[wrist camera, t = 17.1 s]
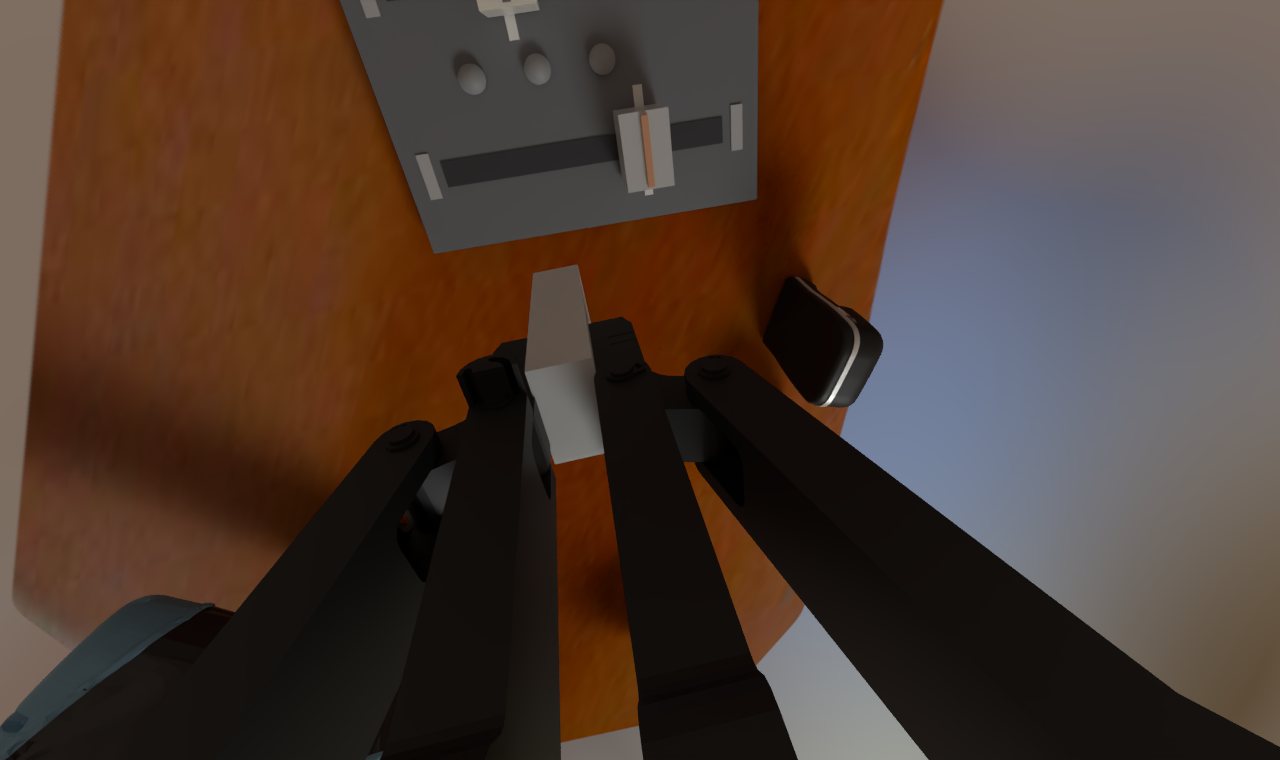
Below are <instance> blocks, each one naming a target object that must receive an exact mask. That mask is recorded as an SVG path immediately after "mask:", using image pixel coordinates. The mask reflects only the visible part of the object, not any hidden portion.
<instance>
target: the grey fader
mask: <svg viewBox="0 0 1280 760" xmlns="http://www.w3.org/2000/svg"><path fill="white" fill-rule="evenodd" d="M613 118H614V125H615V132H616V139H617V146H618V154H619V161H620V168H621V175H622V182H623V184H624V186H625V188H626V189H627V191H628V193H632V192H638V191H644V190H650V189H656V188H662V187H668V186H674V185H675V182H674V170H673V158H672V146H671V134H670V122H669V110H668V107H667V106H664V105H661V104H651V105H645V106H639V107H632V108H626V109H620V110H613Z"/></svg>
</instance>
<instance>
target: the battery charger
mask: <svg viewBox="0 0 1280 760" xmlns="http://www.w3.org/2000/svg"><path fill="white" fill-rule="evenodd" d="M763 343H764V344H765V345H766V346H767V348H768V349H769V350H770V352H771V353H772V354H773V356H774V357H775V358H776V360H777V362H778V363H779V365H780V366H781V368H782V369H783V371H784V372H785V374H786V375H787V377H788V378H789V380H790V381H791V383H792V384H793V385H794V387H795V388H796V389H797V390H798V392H799V393H800V394H801V395H802V397H803V398H804V399H805V400H806V401H807V402H808V403H811V404H813V405H815V406H820V407H825V406H830V407H848V406H850V405H851V404H853V403H854V402H855V400H856V399H857V398H858V396H859V394H860V392H861V390H862V389H863V387H864V385H865V384H866V382H867V380H868V378H869V377H870V375H871V373H872V371H873V369H874V367H875V365H876V363H877V361H878V359H879V357H880V355H881V353H882V349H883V340H882V337H881V335H880V333H879V332H878V331H877V330H876V329H875V328H874V327H873V326H872V325H871V324H870V323H869V322H868V321H867V320H865V319H864V318H863V317H862V316H861V315H859V314H858V313H857V312H856V311H854V310H853V309H851V308H848V307H843V306H838V305H837V304H836V303H834V302H833V301H832V300H830V299H829V298H827V297H826V296H824V295H823V294H821V293H820V292H819V291H818V290H817V288H816V286H815V285H814V284H813V283H812V282H810V281H807V280H805V279H801V278H799V277H788V278H787V280H786V282H785V284H784V287H783V289H782V291H781V294H780V296H779V299H778V301H777V304H776V306H775V309H774V311H773V314H772V316H771V319H770V322H769V324H768V327H767V330H766V332H765V335H764V338H763Z"/></svg>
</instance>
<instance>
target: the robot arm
mask: <svg viewBox="0 0 1280 760" xmlns="http://www.w3.org/2000/svg"><path fill="white" fill-rule="evenodd" d="M456 377H457V379H458V382H459V384H460V386H461V389H462V391H463V394H464V396H465V398H466V401H467V403H468V405H469V409H468V413H467V417H466V420H464V421H462V422H460V423H458V424H456V425H454V426H452V427H449V428H447V429H444V430H442V431H439V432H436V430H435V428H434V426H433V424H431V423H430V422H428V421H419V420H417V421H411V422H405V423H402V424H400V425H397V426H395V427H393V428H391V429H390V430H389V431H387V432H385V433H384V434H382V435H381V436H380V437H379V438H378V439H377V440H376V441H375V442H374V443H373V444H372V445H371V447H370V448H369V449H368V450H367V452H366V453H365V454H364V455H363V456H362V458H361V459H360V460H359V461H358V463H357V464H356V465H355V466H354V467H353V469H352V470H351V471H350V472H349V474H348V475H347V476H346V477H345V479H344V480H343V481H342V482H341V483H340V485H339V486H338V487H337V488H336V490H335V491H334V492H333V493H332V494H331V496H330V497H329V498H328V499H327V501H326V502H325V503H324V504H323V506H322V507H321V508H320V509H319V510H318V512H317V513H316V514H315V515H314V517H313V518H312V519H311V520H310V521H309V523H308V524H307V525H306V526H305V528H304V529H303V530H302V531H301V532H300V534H299V535H298V536H297V537H296V539H295V540H294V541H293V542H292V544H291V545H290V546H289V547H288V548H287V550H286V551H285V552H284V553H283V555H282V556H281V557H280V558H279V559H278V561H277V562H276V563H275V564H274V566H273V567H272V568H271V569H270V570H269V572H268V573H267V574H266V575H265V577H264V578H263V579H262V580H261V582H260V583H259V584H258V585H257V586H256V588H255V589H254V590H253V591H252V593H251V594H250V595H249V596H248V597H247V599H246V600H245V601H244V602H243V604H242V605H241V606H240V607H239V609H238V610H237V611H236V612H232V611H229V610H225V609H222V608H219V607H215V604H213V603H203V604H201V603H196V602H192V601H188V600H183V599H179V598H175V597H170V596H166V595H150V596H145V597H142V598H139V599H136V600H134V601H132V602H130V603H128V604H127V605H125V606H124V607H122V608H121V609H119V610H118V611H117V612H115V613H114V614H113V615H111V616H110V617H109V618H108V619H107V620H106V621H104V622H103V623H102V624H101V625H100V626H99V627H98V628H96V629H95V630H94V631H93V632H92V633H91V634H90V635H89V636H88V637H87V638H86V639H84V640H83V641H82V642H81V643H80V644H79V645H78V646H77V647H76V648H75V649H74V650H73V651H72V652H71V653H70V654H69V655H68V656H67V657H66V658H65V659H64V660H63V661H62V662H60V664H58V666H57V667H55V668H54V669H53V670H52V671H51V672H50V673H49V674H48V675H47V676H46V677H45V679H43V681H41V682H40V684H39V685H38V686H37V687H36V688H35V689H34V690H33V691H32V692H31V693H30V694H29V695H28V696H27V697H26V698H25V699H24V700H23V701H22V702H21V703H20V704H19V706H18V707H17V709H16V711H15V713H13V714H12V715H10V716H9V717H8V718H7V719H6V720H5V721H4V723H3V724H2V725H1V726H0V760H561V746H560V745H561V744H560V690H559V636H558V582H557V528H556V478H555V475H554V472H553V469H552V466H551V463H550V451H551V454H552V457H553V460H554V463H555V464H559V463H563V462H568V461H572V460H577V459H581V458H586V457H590V456H595V455H599V454H604V455H605V462H606V468H607V475H608V482H609V489H610V496H611V503H612V510H613V517H614V524H615V531H616V538H617V545H618V552H619V559H620V566H621V573H622V580H623V587H624V594H625V601H626V608H627V614H628V621H629V628H630V635H631V642H632V649H633V656H634V663H635V670H636V677H637V684H638V693H639V702H638V720H639V729H640V737H641V745H642V753H643V760H798V759H797V756H796V753H795V751H794V748H793V745H792V742H791V740H790V737H789V734H788V731H787V729H786V726H785V724H784V721H783V718H782V715H781V713H780V710H779V707H778V705H777V702H776V700H775V697H774V695H773V692H772V690H771V687H770V685H769V683H768V682H767V680H766V678H765V676H764V675H763V674H762V673H761V672H760V671H759V670H758V669H757V667H756V666H755V664H754V661H753V659H752V656H751V653H750V651H749V648H748V645H747V642H746V639H745V636H744V634H743V631H742V628H741V625H740V622H739V619H738V616H737V614H736V611H735V608H734V605H733V602H732V599H731V597H730V594H729V591H728V588H727V585H726V582H725V579H724V577H723V574H722V571H721V568H720V565H719V562H718V559H717V557H716V554H715V551H714V548H713V545H712V542H711V540H710V537H709V534H708V531H707V528H706V525H705V522H704V520H703V517H702V514H701V511H700V508H699V505H698V502H697V500H696V497H695V494H694V491H693V488H692V485H691V482H690V480H689V477H688V474H687V471H686V468H685V465H684V463H683V462H695V465H696V467H697V469H698V471H699V472H700V473H701V475H702V476H703V477H704V478H705V480H706V481H707V482H708V484H709V485H710V486H711V487H712V489H713V490H714V491H715V492H716V494H717V495H718V496H719V497H720V499H721V500H722V501H723V502H724V504H725V505H726V506H727V507H728V509H729V510H730V511H731V512H732V514H733V515H734V516H735V517H736V519H737V520H738V521H739V522H740V524H741V525H742V526H743V527H744V529H745V530H746V531H747V532H748V534H749V535H750V536H751V537H752V539H753V540H754V541H755V542H756V544H757V545H758V546H759V547H760V549H761V550H762V551H763V553H764V554H765V555H766V556H767V558H768V559H769V560H770V561H771V563H772V564H773V565H774V566H775V568H776V569H777V570H778V571H779V573H780V574H781V575H782V576H783V578H784V579H785V580H786V581H787V583H788V584H789V585H790V586H791V588H792V589H793V590H794V591H795V593H796V594H797V595H798V596H799V598H800V599H801V600H802V601H803V603H804V604H805V605H806V606H807V608H808V609H809V610H810V611H811V613H812V614H813V615H814V616H815V618H816V619H817V620H818V621H819V623H820V624H821V625H822V626H823V628H824V629H825V630H826V632H827V633H828V634H829V635H830V637H831V638H832V639H833V640H834V641H835V642H836V644H837V645H838V647H839V648H840V649H841V650H842V651H843V653H844V654H845V655H846V657H847V658H848V659H849V660H850V662H851V663H852V664H853V665H854V667H855V668H856V669H857V670H858V672H859V673H860V674H861V675H862V677H863V678H864V679H865V680H866V682H867V683H868V684H869V685H870V687H871V688H872V689H873V690H874V692H875V693H876V694H877V695H878V697H879V698H880V699H881V700H882V702H883V703H884V704H885V705H886V707H887V708H888V709H889V711H890V712H891V713H892V714H893V716H894V717H895V718H896V719H897V721H898V722H899V723H900V724H901V725H902V727H903V728H904V729H905V730H906V732H907V733H908V734H909V736H910V737H911V738H912V739H913V741H914V742H915V743H916V744H917V746H918V747H919V748H920V749H921V751H922V752H923V753H924V754H925V756H926V757H927V758H928V759H929V760H1280V747H1279V746H1277V745H1274V744H1273V743H1271V742H1269V741H1267V740H1265V739H1264V738H1262V737H1260V736H1258V735H1256V734H1254V733H1252V732H1250V731H1248V730H1246V729H1245V728H1243V727H1241V726H1239V725H1237V724H1235V723H1233V722H1231V721H1229V720H1227V719H1226V718H1224V717H1222V716H1220V715H1218V714H1216V713H1214V712H1212V711H1210V710H1208V709H1206V708H1205V707H1203V706H1201V705H1199V704H1197V703H1195V702H1193V701H1191V700H1189V699H1188V698H1186V697H1184V696H1182V695H1180V694H1178V693H1177V692H1175V691H1174V690H1173V689H1171V688H1170V687H1169V686H1167V685H1166V684H1165V683H1163V682H1162V681H1161V680H1159V679H1158V678H1156V677H1155V676H1154V675H1153V674H1152V673H1150V672H1149V671H1148V670H1146V669H1145V668H1144V667H1142V666H1141V665H1140V664H1138V663H1137V662H1136V661H1134V660H1133V659H1132V658H1130V657H1129V656H1128V655H1127V654H1125V653H1124V652H1123V651H1121V650H1120V649H1119V648H1117V647H1116V646H1115V645H1113V644H1112V643H1111V642H1109V641H1108V640H1107V639H1105V638H1104V637H1103V636H1101V635H1100V634H1099V633H1097V632H1096V631H1095V630H1094V629H1092V628H1091V627H1090V626H1088V625H1087V624H1086V623H1084V622H1083V621H1082V620H1080V619H1079V618H1078V617H1077V616H1075V615H1074V614H1073V613H1071V612H1070V611H1069V610H1067V609H1066V608H1065V607H1063V606H1062V605H1061V604H1059V603H1058V602H1057V601H1055V600H1054V599H1053V598H1052V597H1050V596H1049V595H1048V594H1046V593H1045V592H1043V591H1042V590H1041V589H1040V588H1038V587H1037V586H1036V585H1034V584H1033V583H1032V582H1030V581H1029V580H1028V579H1026V578H1025V577H1024V576H1023V575H1021V574H1020V573H1019V572H1017V571H1016V570H1015V569H1013V568H1012V567H1011V566H1009V565H1008V564H1007V563H1005V562H1004V561H1003V560H1002V559H1000V558H999V557H998V556H996V555H995V554H994V553H992V552H991V551H990V550H988V549H987V548H986V547H984V546H983V545H982V544H980V543H979V542H978V541H977V540H975V539H974V538H973V537H971V536H970V535H969V534H967V533H966V532H965V531H963V530H962V529H961V528H959V527H958V526H957V525H955V524H954V523H953V522H952V521H950V520H949V519H948V518H946V517H945V516H944V515H942V514H941V513H940V512H938V511H937V510H935V509H934V508H933V507H932V506H930V505H929V504H928V503H926V502H925V501H924V500H923V499H921V498H920V497H919V496H917V495H916V494H915V493H913V492H912V491H911V490H909V489H908V488H907V487H905V486H904V485H903V484H902V483H900V482H899V481H898V480H896V479H895V478H894V477H892V476H891V475H890V474H888V473H887V472H886V471H884V470H883V469H882V468H880V467H879V466H878V465H877V464H875V463H874V462H873V461H871V460H870V459H869V458H867V457H866V456H865V455H863V454H862V453H861V452H859V451H858V450H857V449H855V448H854V447H853V446H852V445H850V444H849V443H848V442H846V441H845V440H844V439H842V438H841V437H840V436H838V435H837V434H836V433H834V432H833V431H832V430H830V429H829V428H828V427H827V426H825V425H824V424H823V423H821V422H820V421H819V420H817V419H816V418H815V417H813V416H812V415H811V414H809V413H808V412H807V411H805V410H804V409H803V408H802V407H800V406H799V405H798V404H796V403H795V402H794V401H792V400H791V399H790V398H788V397H787V396H786V395H784V394H783V393H782V392H780V391H779V390H778V389H777V388H775V387H774V386H773V385H771V384H770V383H769V382H767V381H766V380H765V379H763V378H762V377H761V376H759V375H758V374H757V373H755V372H754V371H753V370H752V369H750V368H749V367H748V366H746V365H745V364H744V363H742V362H741V361H739V360H737V359H735V358H733V357H729V356H724V355H709V356H706V357H702V358H699V359H697V360H695V361H693V362H691V363H690V364H689V365H688V366H687V367H686V368H685V373H684V376H665V375H660V374H657V373H654V372H652V371H651V368H650V367H649V366H648V364H647V363H646V362H645V361H644V358H643V355H642V352H641V350H640V347H639V344H638V341H637V338H636V335H635V333H634V329H633V326H632V323H631V322H629V321H628V320H626V319H624V318H623V317H619V318H614V319H609V320H604V321H600V322H595V323H591V322H590V317H589V313H588V308H587V304H586V300H585V295H584V291H583V286H582V282H581V278H580V273H579V269H578V265H573V266H568V267H563V268H558V269H553V270H548V271H543V272H538V273H533V282H532V293H531V305H530V316H529V327H528V338H524V339H519V340H515V341H510V342H505V343H502V344H501V345H500V346H499V347H498V348H497V349H496V350H495V352H494V353H493V355H489V356H486V357H483V358H479V359H477V360H475V361H473V362H471V363H469V364H467V365H466V366H465V367H463V368H462V369H461V370H460V371H459V373H458V374H457V376H456ZM404 514H406V515H407V517H408V519H409V521H408V523H407V525H406V524H399V523H400V520H401V518H402V517H403V515H404Z"/></svg>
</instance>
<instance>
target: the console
mask: <svg viewBox="0 0 1280 760" xmlns="http://www.w3.org/2000/svg"><path fill="white" fill-rule="evenodd" d="M340 2H341V5H342V8H343V10H344V13H345V16H346V18H347V21H348V24H349V26H350V29H351V32H352V34H353V37H354V40H355V42H356V45H357V48H358V50H359V53H360V56H361V58H362V61H363V64H364V67H365V69H366V72H367V75H368V77H369V80H370V83H371V85H372V88H373V91H374V93H375V96H376V99H377V101H378V104H379V107H380V109H381V112H382V115H383V117H384V120H385V123H386V125H387V128H388V131H389V133H390V136H391V139H392V141H393V144H394V147H395V150H396V152H397V155H398V158H399V160H400V163H401V166H402V168H403V171H404V174H405V176H406V179H407V182H408V184H409V187H410V190H411V192H412V195H413V198H414V200H415V203H416V206H417V208H418V211H419V214H420V216H421V219H422V222H423V224H424V227H425V230H426V232H427V235H428V238H429V241H430V243H431V246H432V249H433V251H434V254H435V253H441V252H447V251H453V250H459V249H465V248H471V247H477V246H483V245H489V244H495V243H501V242H507V241H512V240H518V239H524V238H530V237H536V236H542V235H548V234H554V233H560V232H566V231H572V230H578V229H584V228H590V227H596V226H601V225H607V224H613V223H619V222H625V221H631V220H637V219H643V218H649V217H655V216H661V215H667V214H673V213H679V212H685V211H690V210H696V209H702V208H708V207H714V206H720V205H726V204H732V203H738V202H744V201H750V200H756V199H757V129H758V0H538V4H539V9H540V10H537V11H530V12H524V13H517V14H510V15H503V16H497V17H490V18H488V17H486V16H485V15H484V14H482V13H481V12H480V11H479V8H478V4H477V0H340ZM651 104H661V105H664V106H667V107H668V110H669V122H670V134H671V146H672V158H673V170H674V182H675V185H674V186H668V187H662V188H656V189H650V190H644V191H638V192H632V193H628V191H627V189H626V188H625V186H624V184H623V182H622V175H621V168H620V161H619V154H618V146H617V139H616V132H615V125H614V118H613V110H620V109H626V108H632V107H639V106H645V105H651Z"/></svg>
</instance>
